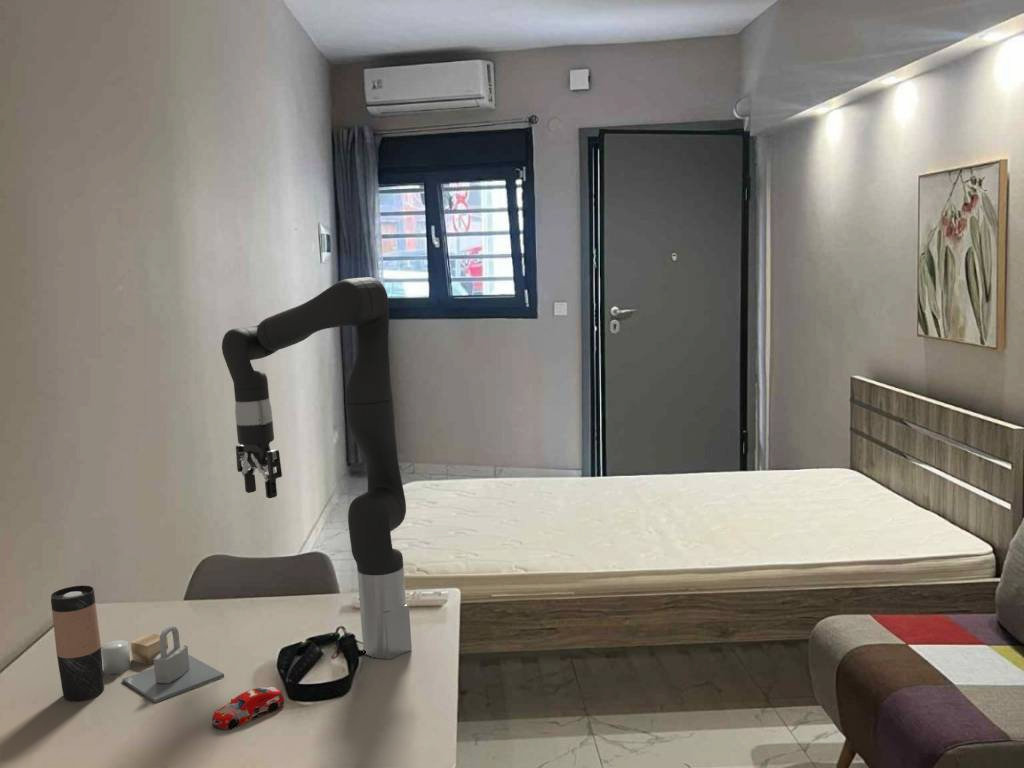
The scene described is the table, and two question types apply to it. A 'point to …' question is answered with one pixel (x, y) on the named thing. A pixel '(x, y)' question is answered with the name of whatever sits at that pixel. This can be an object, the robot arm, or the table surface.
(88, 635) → the travel mug
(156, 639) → the oak block
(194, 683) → the mat
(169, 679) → the padlock
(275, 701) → the race car
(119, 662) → the white rounded capsule
